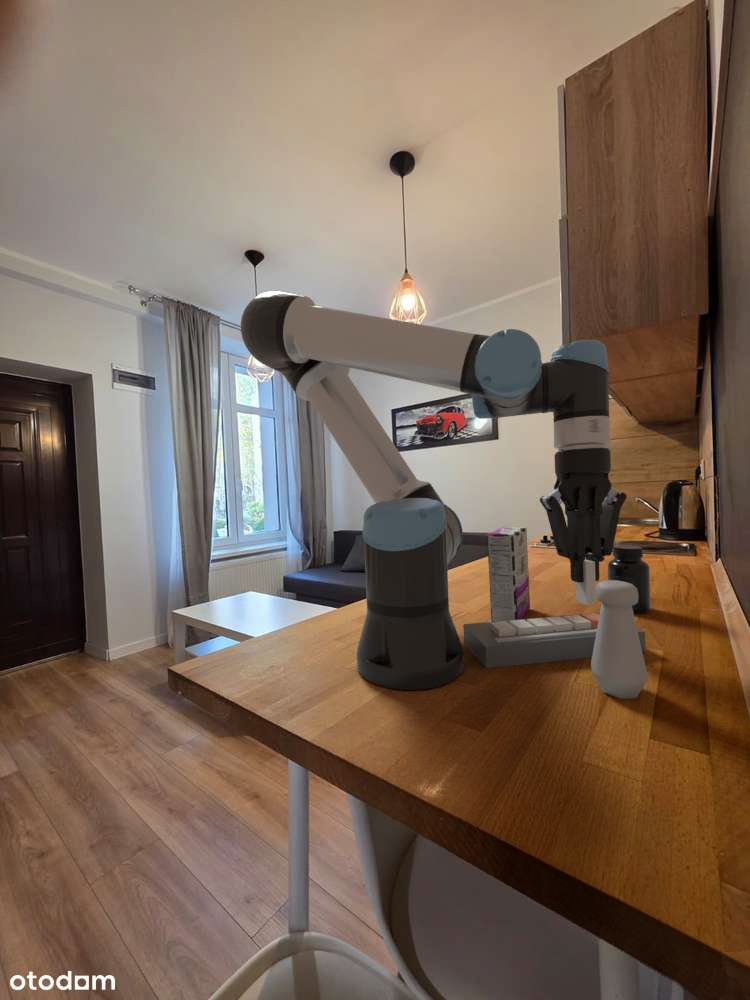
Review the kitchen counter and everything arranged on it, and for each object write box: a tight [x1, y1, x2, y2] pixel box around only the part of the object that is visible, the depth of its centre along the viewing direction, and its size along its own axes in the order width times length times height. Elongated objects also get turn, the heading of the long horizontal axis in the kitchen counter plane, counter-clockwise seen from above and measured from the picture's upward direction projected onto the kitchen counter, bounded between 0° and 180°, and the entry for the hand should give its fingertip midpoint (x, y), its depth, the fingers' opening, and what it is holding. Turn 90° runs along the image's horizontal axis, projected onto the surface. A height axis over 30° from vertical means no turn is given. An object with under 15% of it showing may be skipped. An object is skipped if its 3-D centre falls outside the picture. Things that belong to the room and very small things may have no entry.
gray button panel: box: [462, 611, 646, 669], centre depth 60 cm, size 24×9×4 cm, turn 97°
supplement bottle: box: [607, 544, 652, 615], centre depth 75 cm, size 7×7×12 cm
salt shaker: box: [590, 579, 649, 700], centre depth 47 cm, size 6×6×13 cm
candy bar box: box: [486, 526, 531, 622], centre depth 74 cm, size 11×5×16 cm, turn 147°
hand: (585, 602), depth 60 cm, fingers closed
